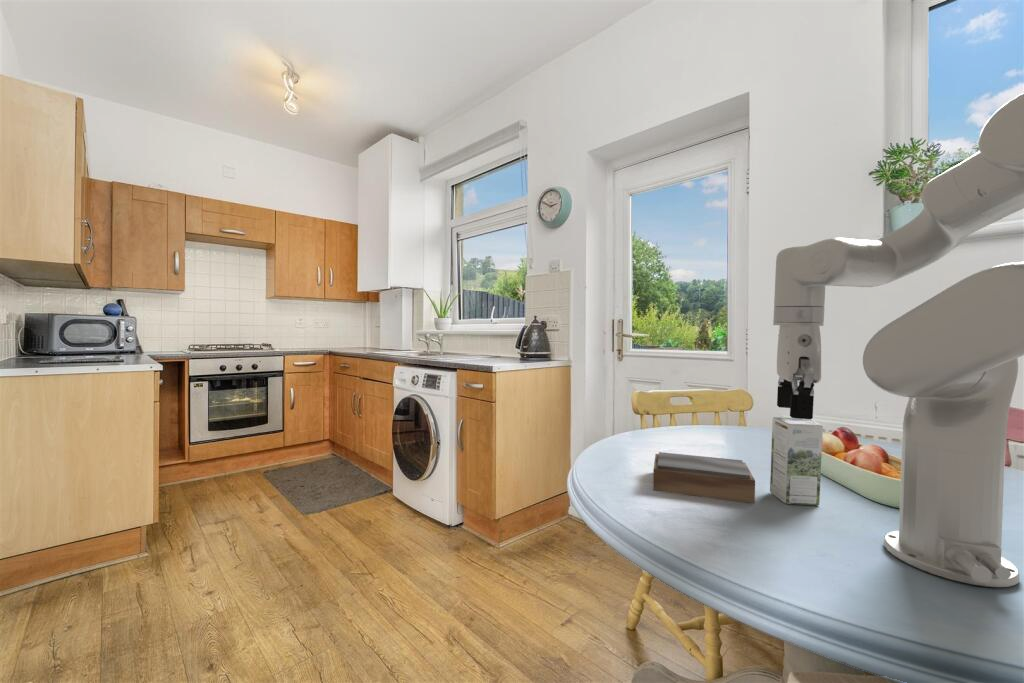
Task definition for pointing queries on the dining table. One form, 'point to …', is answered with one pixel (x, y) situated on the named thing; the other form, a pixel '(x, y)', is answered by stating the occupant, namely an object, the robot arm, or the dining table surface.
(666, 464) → the block
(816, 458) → the syrup box
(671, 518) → the dining table surface
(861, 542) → the dining table surface
